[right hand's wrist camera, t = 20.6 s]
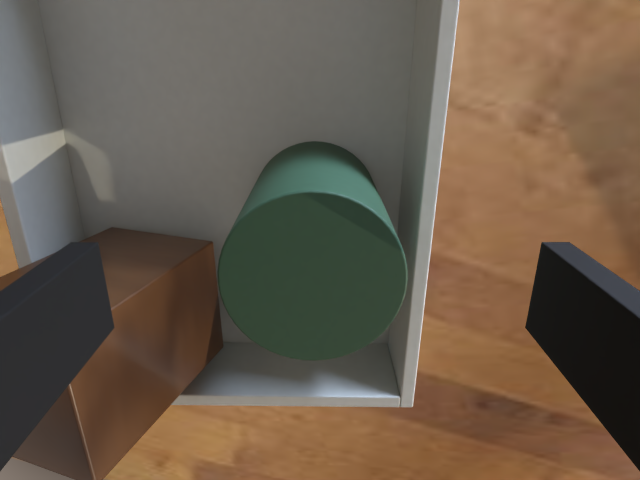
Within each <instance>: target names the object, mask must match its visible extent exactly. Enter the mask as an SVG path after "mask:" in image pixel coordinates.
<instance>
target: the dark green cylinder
mask: <svg viewBox="0 0 640 480" xmlns="http://www.w3.org/2000/svg"><path fill="white" fill-rule="evenodd" d="M217 275H218V287H219V292H220V296H221V299H222V302H223V304H224V307H225V309H226V311H227V313H228V315H229V316H230V318H231V319H232V320H233V322H234V323H235V325H236V326H237V327H238V328H239V329H240V330H241V331H242V333H244V334H245V335H246V336H247V337H248V338H249V339H250V340H252V341H253V342H255V343H256V344H258V345H259V346H261V347H263V348H265V349H266V350H268V351H270V352H273V353H276V354H278V355H281V356H285V357H288V358H292V359H299V360H312V361H316V360H328V359H333V358H338V357H342V356H345V355H348V354H351V353H353V352H355V351H358V350H360V349H362V348H363V347H365V346H367V345H368V344H370V343H371V342H373V341H374V340H375V339H377V338H378V337H379V336H380V335H381V334H382V333H383V332H384V331H385V330H386V329H387V328H388V327H389V325H390V324H391V323H392V322H393V320H394V319H395V317H396V315H397V314H398V312H399V310H400V308H401V305H402V303H403V300H404V297H405V293H406V288H407V281H408V269H407V263H406V257H405V254H404V251H403V247H402V245H401V243H400V241H399V238H398V236H397V234H396V231H395V229H394V227H393V225H392V222H391V220H390V218H389V216H388V213H387V211H386V209H385V207H384V204H383V202H382V200H381V198H380V195H379V193H378V191H377V189H376V186H375V184H374V182H373V180H372V177H371V175H370V173H369V171H368V170H367V168H366V167H365V165H364V164H363V163H362V162H361V161H360V160H359V159H358V158H357V157H356V156H355V155H354V154H352V153H351V152H349V151H348V150H346V149H344V148H342V147H340V146H338V145H335V144H332V143H327V142H319V141H311V142H303V143H298V144H295V145H293V146H290V147H288V148H286V149H284V150H282V151H281V152H279V153H278V154H276V155H275V156H274V157H273V158H272V159H271V160H270V161H269V162H268V163H267V165H266V166H265V167H264V169H263V170H262V172H261V174H260V175H259V177H258V179H257V181H256V183H255V185H254V187H253V189H252V191H251V192H250V194H249V196H248V198H247V200H246V202H245V204H244V206H243V208H242V209H241V211H240V213H239V215H238V217H237V219H236V221H235V223H234V225H233V226H232V228H231V230H230V232H229V234H228V236H227V238H226V240H225V242H224V245H223V247H222V249H221V253H220V257H219V261H218V270H217Z"/></svg>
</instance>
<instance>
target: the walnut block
mask: <svg viewBox="0 0 640 480" xmlns="http://www.w3.org/2000/svg"><path fill="white" fill-rule="evenodd" d="M80 242H98V244H99V249H100V254H101V259H102V265H103V270H104V275H105V280H106V285H107V291H108V296H109V301H110V306H111V311H112V317H113V322H114V327H115V328H114V329H113V330H112V332H111V333H110V334H109V335H108V337H107V338H106V339H105V340H104V342H103V343H102V344H101V345H100V347H99V348H98V349H97V350H96V352H95V353H94V354H93V355H92V357H91V358H90V359H89V360H88V362H87V363H86V364H85V365H84V367H83V368H82V369H81V370H80V372H79V373H78V374H77V375H76V377H75V378H74V379H73V380H72V382H71V383H70V384H69V385H68V387H67V388H66V389H65V391H64V392H63V393H62V394H61V396H60V397H59V398H58V399H57V401H56V402H55V403H54V404H53V406H52V407H51V408H50V409H49V411H48V412H47V413H46V414H45V416H44V417H43V418H42V419H41V421H40V422H39V423H38V424H37V426H36V427H35V428H34V429H33V431H32V432H31V433H30V434H29V436H28V437H27V438H26V439H25V441H24V442H23V443H22V444H21V446H20V447H19V448H18V450H17V451H16V452H15V453H14V455H13V456H12V457H15V458H18V459H20V460H23V461H26V462H29V463H31V464H34V465H37V466H40V467H42V468H45V469H48V470H50V471H53V472H56V473H58V474H61V475H64V476H67V477H69V478H72V479H75V480H103V478H104V477H105V476H106V475H107V474H108V473H109V472H110V471H111V470H112V469H113V468H114V466H115V465H116V464H117V463H118V462H119V461H120V460H121V459H122V458H123V457H124V455H125V454H126V453H127V452H128V451H129V450H130V449H131V448H132V447H133V446H134V444H135V443H136V442H137V441H138V440H139V439H140V438H141V437H142V436H143V435H144V434H145V432H146V431H147V430H148V429H149V428H150V427H151V426H152V425H153V424H154V423H155V421H156V420H157V419H158V418H159V417H160V416H161V415H162V414H163V413H164V412H165V410H166V409H167V408H168V407H169V406H170V405H171V404H172V403H173V402H174V401H175V400H176V398H177V397H178V396H179V395H180V394H181V393H182V392H183V391H184V390H185V389H186V387H187V386H188V385H189V384H190V383H191V382H192V381H193V380H194V379H195V378H196V377H197V375H198V374H199V373H200V372H201V371H202V370H203V369H204V368H205V367H206V366H207V364H208V363H209V362H210V361H211V360H212V359H213V358H214V357H215V356H216V355H217V353H218V352H219V351H220V350H221V349H222V348H223V336H222V326H221V316H220V306H219V296H218V286H217V276H216V266H215V256H214V246H213V242H212V241H207V240H200V239H193V238H186V237H179V236H171V235H164V234H157V233H150V232H143V231H136V230H129V229H122V228H115V227H111V228H109V229H106V230H104V231H102V232H100V233H97V234H95V235H93V236H91V237H89V238H86V239H84V240H82V241H80ZM55 253H56V252H55ZM55 253H53V254H55ZM53 254H51V255H49V256H46V257H44V258H42V259H40V260H37V261H35V262H33V263H31V264H28V265H26V266H24V267H22V268H20V269H17V270H15V271H13V272H11V273H8V274H6V275H4V276H2V277H0V291H1V290H3V289H4V288H5V287H7V286H8V285H10V284H11V283H13V282H14V281H16V280H17V279H18V278H20V277H21V276H23V275H24V274H26V273H27V272H29V271H30V270H31V269H33V268H34V267H36V266H37V265H39V264H40V263H42V262H43V261H44V260H46V259H47V258H49V257H50V256H52V255H53Z"/></svg>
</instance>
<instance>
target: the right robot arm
mask: <svg viewBox="0 0 640 480" xmlns="http://www.w3.org/2000/svg"><path fill="white" fill-rule="evenodd" d="M114 328H115V327H114V322H113V317H112V311H111V306H110V301H109V296H108V291H107V285H106V280H105V275H104V270H103V265H102V259H101V254H100V249H99V244H98V242H70V243H69V244H68V245H66V246H65V247H63V248H62V249H60V250H59V251H57V252H56V253H55V254H53V255H52V256H50V257H49V258H47V259H46V260H44V261H43V262H42V263H40V264H39V265H37V266H36V267H34V268H33V269H31V270H30V271H29V272H27V273H26V274H24V275H23V276H21V277H20V278H18V279H17V280H16V281H14V282H13V283H11V284H10V285H8V286H7V287H5V288H4V289H3V290H1V291H0V471H1V470H2V468H3V467H4V466H5V465H6V463H7V462H8V461H9V460H10V458H11V457H12V456H13V455H14V453H15V452H16V451H17V450H18V448H19V447H20V446H21V444H22V443H23V442H24V441H25V439H26V438H27V437H28V436H29V434H30V433H31V432H32V431H33V429H34V428H35V427H36V426H37V424H38V423H39V422H40V421H41V419H42V418H43V417H44V416H45V414H46V413H47V412H48V411H49V409H50V408H51V407H52V406H53V404H54V403H55V402H56V401H57V399H58V398H59V397H60V396H61V394H62V393H63V392H64V391H65V389H66V388H67V387H68V385H69V384H70V383H71V382H72V380H73V379H74V378H75V377H76V375H77V374H78V373H79V372H80V370H81V369H82V368H83V367H84V365H85V364H86V363H87V362H88V360H89V359H90V358H91V357H92V355H93V354H94V353H95V352H96V350H97V349H98V348H99V347H100V345H101V344H102V343H103V342H104V340H105V339H106V338H107V337H108V335H109V334H110V333H111V332H112V330H113V329H114ZM525 328H526V329H527V330H528V331H529V333H530V334H531V335H532V337H533V338H534V339H535V340H536V342H537V343H538V344H539V345H540V347H541V348H542V349H543V350H544V352H545V353H546V354H547V355H548V357H549V358H550V359H551V360H552V362H553V363H554V364H555V365H556V367H557V368H558V369H559V370H560V372H561V373H562V374H563V375H564V377H565V378H566V379H567V380H568V382H569V383H570V384H571V385H572V387H573V388H574V389H575V390H576V392H577V393H578V394H579V396H580V397H581V398H582V399H583V401H584V402H585V403H586V404H587V406H588V407H589V408H590V409H591V411H592V412H593V413H594V414H595V416H596V417H597V418H598V419H599V421H600V422H601V423H602V424H603V426H604V427H605V428H606V429H607V431H608V432H609V433H610V434H611V436H612V437H613V438H614V439H615V441H616V442H617V443H618V444H619V446H620V447H621V448H622V449H623V451H624V452H625V453H626V455H627V456H628V457H629V458H630V460H631V461H632V462H633V463H634V465H635V466H636V467H637V468H638V470H639V471H640V291H639V290H637V289H636V288H635V287H633V286H632V285H630V284H629V283H627V282H626V281H624V280H623V279H622V278H620V277H619V276H617V275H616V274H614V273H613V272H611V271H610V270H609V269H607V268H606V267H604V266H603V265H601V264H600V263H598V262H597V261H596V260H594V259H593V258H591V257H590V256H588V255H587V254H585V253H584V252H583V251H581V250H580V249H578V248H577V247H575V246H574V245H572V244H571V243H570V242H542V244H541V249H540V254H539V259H538V265H537V270H536V275H535V280H534V285H533V291H532V296H531V301H530V306H529V311H528V317H527V322H526V327H525Z"/></svg>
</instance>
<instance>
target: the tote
mask: <svg viewBox="0 0 640 480" xmlns="http://www.w3.org/2000/svg"><path fill="white" fill-rule="evenodd" d="M459 1H460V0H0V199H1V203H2V206H3V210H4V214H5V218H6V221H7V225H8V229H9V233H10V236H11V240H12V244H13V248H14V251H15V255H16V259H17V263H18V266H19V269H20V268H22V267H24V266H26V265H28V264H31V263H33V262H35V261H37V260H40V259H42V258H44V257H46V256H49V255H51V254H53V253H55V252H57V251H59V250H60V249H62V248H63V247H65V246H66V245H68V244H69V243H70V242H80V241H82V240H84V239H86V238H89V237H91V236H93V235H95V234H97V233H100V232H102V231H104V230H106V229H109V228H111V227H115V228H122V229H129V230H136V231H143V232H150V233H157V234H164V235H171V236H179V237H186V238H193V239H200V240H207V241H212V242H213V246H214V256H215V266H216V276H217V286H218V275H217V270H218V261H219V257H220V253H221V249H222V247H223V245H224V242H225V240H226V238H227V236H228V234H229V232H230V230H231V228H232V226H233V225H234V223H235V221H236V219H237V217H238V215H239V213H240V211H241V209H242V208H243V206H244V204H245V202H246V200H247V198H248V196H249V194H250V192H251V191H252V189H253V187H254V185H255V183H256V181H257V179H258V177H259V175H260V174H261V172H262V170H263V169H264V167H265V166H266V165H267V163H268V162H269V161H270V160H271V159H272V158H273V157H274V156H275V155H276V154H278V153H279V152H281V151H282V150H284V149H286V148H288V147H290V146H293V145H295V144H298V143H303V142H311V141H319V142H327V143H332V144H335V145H338V146H340V147H342V148H344V149H346V150H348V151H349V152H351V153H352V154H354V155H355V156H356V157H357V158H358V159H359V160H360V161H361V162H362V163H363V164H364V165H365V167H366V168H367V170H368V171H369V173H370V175H371V177H372V180H373V182H374V184H375V186H376V189H377V191H378V193H379V195H380V198H381V200H382V202H383V204H384V207H385V209H386V211H387V213H388V216H389V218H390V220H391V222H392V225H393V227H394V229H395V231H396V234H397V236H398V238H399V241H400V243H401V245H402V247H403V251H404V254H405V257H406V263H407V269H408V281H407V288H406V293H405V297H404V300H403V303H402V305H401V308H400V310H399V312H398V314H397V315H396V317H395V319H394V320H393V322H392V323H391V324H390V325H389V327H388V328H387V329H386V330H385V331H384V332H383V333H382V334H381V335H380V336H379V337H378V338H377V339H375V340H374V341H373V342H371V343H370V344H368V345H367V346H365V347H363V348H362V349H360V350H358V351H355V352H353V353H351V354H348V355H345V356H342V357H338V358H333V359H328V360H316V361H312V360H299V359H292V358H288V357H285V356H281V355H278V354H276V353H273V352H270V351H268V350H266V349H265V348H263V347H261V346H259V345H258V344H256V343H255V342H253V341H252V340H250V339H249V338H248V337H247V336H246V335H245V334H244V333H242V331H241V330H240V329H239V328H238V327H237V326H236V325H235V323H234V322H233V320H232V319H231V318H230V316H229V315H228V313H227V311H226V309H225V307H224V304H223V302H222V299H221V296H220V292H219V287H218V296H219V306H220V316H221V326H222V336H223V348H222V349H221V350H220V351H219V352H218V353H217V355H216V356H215V357H214V358H213V359H212V360H211V361H210V362H209V363H208V364H207V366H206V367H205V368H204V369H203V370H202V371H201V372H200V373H199V374H198V375H197V377H196V378H195V379H194V380H193V381H192V382H191V383H190V384H189V385H188V386H187V387H186V389H185V390H184V391H183V392H182V393H181V394H180V395H179V396H178V397H177V398H176V400H175V401H174V402H173V403H172V404H171V405H241V406H337V407H399V405H400V407H413V401H414V392H415V383H416V374H417V366H418V357H419V348H420V340H421V331H422V322H423V314H424V305H425V296H426V288H427V279H428V270H429V262H430V253H431V244H432V236H433V227H434V218H435V210H436V201H437V192H438V184H439V175H440V166H441V158H442V149H443V140H444V131H445V123H446V114H447V105H448V97H449V88H450V79H451V71H452V62H453V53H454V45H455V36H456V27H457V19H458V10H459Z"/></svg>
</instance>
